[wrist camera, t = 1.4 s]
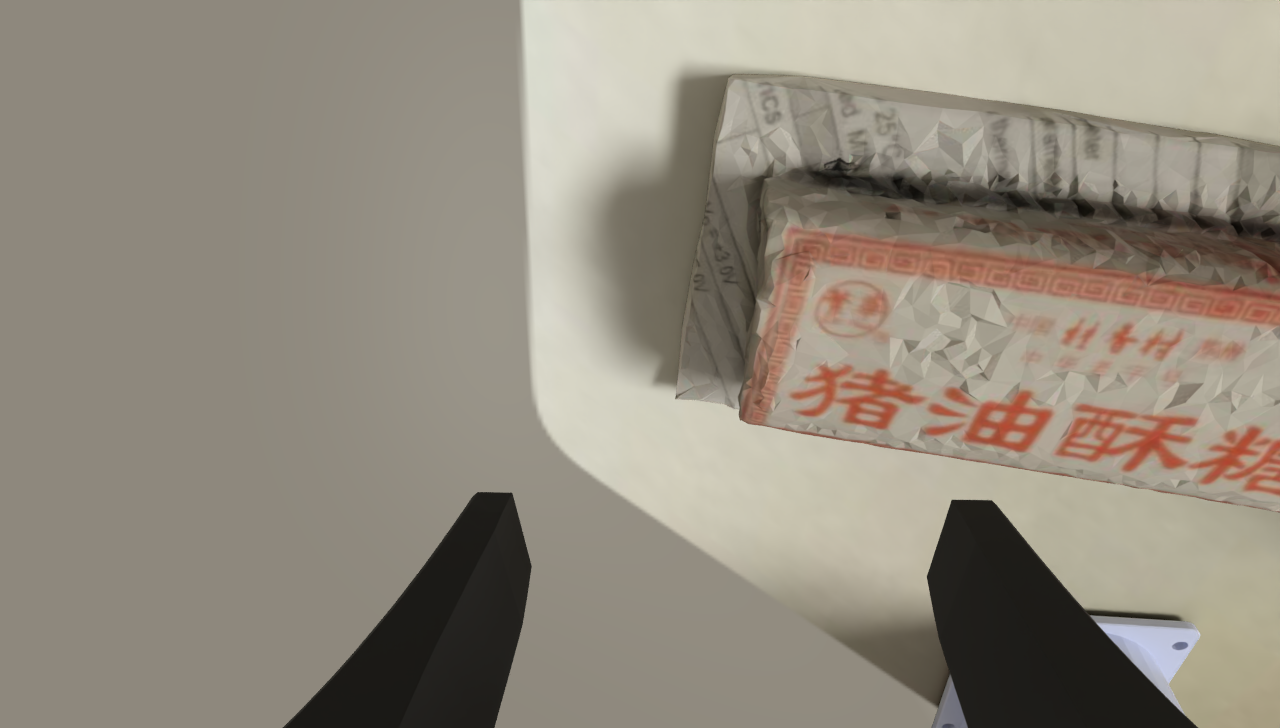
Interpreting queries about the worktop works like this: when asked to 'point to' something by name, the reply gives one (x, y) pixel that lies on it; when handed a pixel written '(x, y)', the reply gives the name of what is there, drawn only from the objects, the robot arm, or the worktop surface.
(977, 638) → the robot arm
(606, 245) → the worktop surface
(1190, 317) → the packaged product
